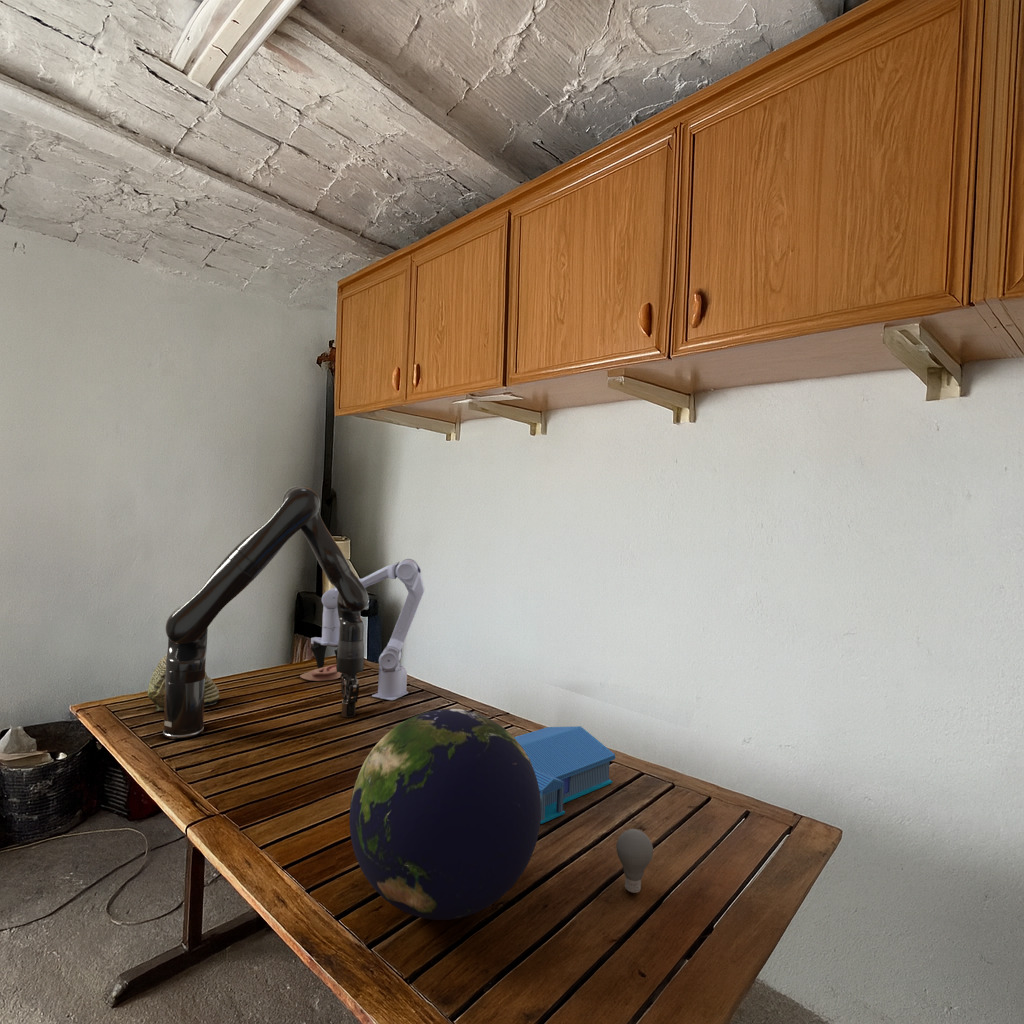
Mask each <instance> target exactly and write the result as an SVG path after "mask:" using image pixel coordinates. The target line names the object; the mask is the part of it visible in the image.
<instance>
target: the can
mask: <svg viewBox="0 0 1024 1024" xmlns="http://www.w3.org/2000/svg"><path fill="white" fill-rule="evenodd" d="M356 704H357V703H355V708H356V706H357V705H356ZM346 705H347V703H346V700H343V699H342V701H341V713H340V715H341V717H343V718H352V717H355V716H356V710H355V711H354V716H349V717H348V716H347V715H346Z"/></svg>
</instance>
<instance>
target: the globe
mask: <svg viewBox="0 0 1024 1024" xmlns="http://www.w3.org/2000/svg"><path fill="white" fill-rule="evenodd" d="M514 737H515V736H513V735H512V734H511V732H509V731H508V730H507V729H505V727H503V726H502V725H501V724H499V723H498V722H497V721H494V720H493V719H491V718H489V717H486V716H485V715H482V714H479V713H478V712H474V711H469V710H465V709H462V708H441V709H434V710H429V711H425V712H422V713H419V714H416V715H414V716H412V717H410V718H408V719H406V720H404V721H402V722H400V723H399V724H397V725H396V726H394V728H392V729H390V731H388V732H387V733H386V734H385V735H384V736H383V737H382V738H381V739H380V740H379V741H378V742H377V743H376V744H375V746H373V748H372V749H371V750H370V752H369V753H368V755H367V757H366V758H365V760H364V762H363V763H362V765H361V768H360V770H359V772H358V775H357V777H356V780H355V783H354V786H353V789H352V793H351V799H350V804H349V805H350V806H349V832H350V833H349V834H350V841H351V845H352V849H353V853H354V856H355V857H356V862H357V864H358V866H359V868H360V870H361V871H362V873H363V875H364V877H365V879H366V880H367V881H368V883H369V884H370V885H371V887H372V888H373V889H374V890H375V892H376V893H377V894H378V895H380V897H381V898H382V899H384V900H385V901H386V902H387V903H388V904H390V905H392V906H393V907H395V908H396V909H398V910H400V911H402V912H404V913H405V914H408V915H411V916H413V917H416V918H421V919H426V920H433V921H448V920H449V921H450V920H457V919H462V918H466V917H468V916H472V915H474V914H477V913H479V912H481V911H483V910H485V909H487V908H489V907H490V906H491V905H493V904H494V903H496V902H497V901H499V900H500V899H501V898H502V897H503V896H504V895H506V894H507V893H508V892H509V891H510V890H511V889H512V887H514V885H515V884H516V883H517V881H518V880H519V879H520V878H521V877H522V875H523V874H524V872H525V870H526V868H527V867H528V865H529V863H530V860H531V858H532V856H533V853H534V851H535V848H536V846H537V842H538V839H539V833H540V828H541V824H540V821H541V799H540V791H539V786H538V781H537V778H536V775H535V772H534V769H533V767H532V764H531V761H530V759H529V758H528V756H527V754H526V753H525V751H524V749H523V748H522V746H521V745H520V744H519V743H518V742H517V740H516V739H515V738H514Z"/></svg>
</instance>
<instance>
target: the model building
mask: <svg viewBox="0 0 1024 1024" xmlns="http://www.w3.org/2000/svg"><path fill="white" fill-rule="evenodd" d="M513 737H514V738H515V739H516V740H517V742H518V743H519V744H520V745H521V746H522V748H523V749H524V751H525V753H526V754H527V756H528V758H529V759H530V761H531V764H532V767H533V769H534V772H535V775H536V778H537V781H538V786H539V791H540V799H541V821H540V825H543V824H544V823H545V824H546V823H547V822H550V821H552V820H554V819H556V818H558V817H560V816H564V815H565V814H566V811H565V810H564V804H566V803H569V802H571V801H573V800H576V799H578V798H580V797H582V796H586V795H588V794H591V793H592V792H594V791H597V790H599V789H601V788H604V787H606V786H608V785H611V784H613V780H612V779H611V778H610V762H611V761H615V760H616V754H615V753H614V752H613V751H611V750H610V749H609V748H608V747H607V746H606V745H604V744H603V743H602V742H600V741H599V740H598V739H597V738H596V737H595V736H593V735H592V734H591V733H589V732H588V731H587V730H586V729H585V728H584V727H582V726H580V725H579V726H577V725H576V726H546V727H544V728H540V729H537V730H534V731H531V732H527V733H524V734H521V735H517V736H513Z"/></svg>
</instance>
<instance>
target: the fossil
mask: <svg viewBox="0 0 1024 1024" xmlns="http://www.w3.org/2000/svg"><path fill="white" fill-rule="evenodd" d="M166 657H167V654H165V655H164V656H163V657H162V658H161V659H160V660H159V662H158V663H157V666H156V667H155V669H154V670H153V672H152V675H151V677H150V680H149V684H148V688H147V697H148V699H149V700H150V701H152V703H153V704H154V706H155V711H158V712H159V711H162V712H163V711H164V705H165V674H166ZM220 698H221V696H220V690H219V688H218V686H217V685H216V683H215V682H214V681H213V679H212V678H211V677H209V675H208V674H207V672H206V671H205V693H204V707H207V706H213V705H215V704H217V703H218V701H219V699H220Z"/></svg>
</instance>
